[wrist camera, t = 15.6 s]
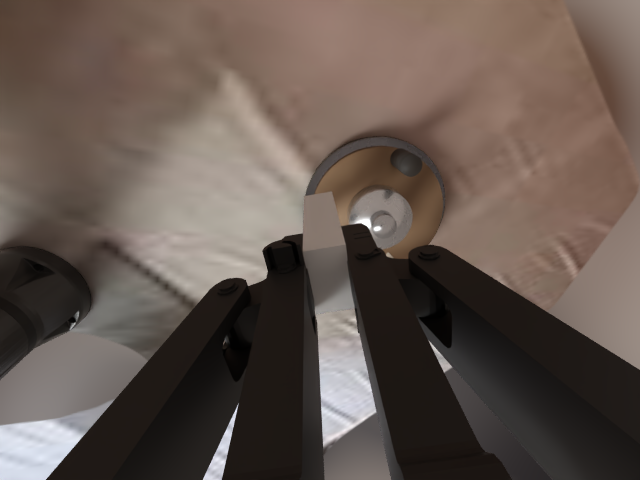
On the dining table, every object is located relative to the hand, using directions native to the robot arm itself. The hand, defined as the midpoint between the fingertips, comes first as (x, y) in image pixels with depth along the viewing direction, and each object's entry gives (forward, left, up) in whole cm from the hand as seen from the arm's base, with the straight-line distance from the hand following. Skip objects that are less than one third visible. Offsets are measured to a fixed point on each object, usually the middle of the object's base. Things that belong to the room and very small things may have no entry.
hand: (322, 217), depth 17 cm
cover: (+7, -10, -24) cm, 26 cm away
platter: (+7, -10, -25) cm, 28 cm away
